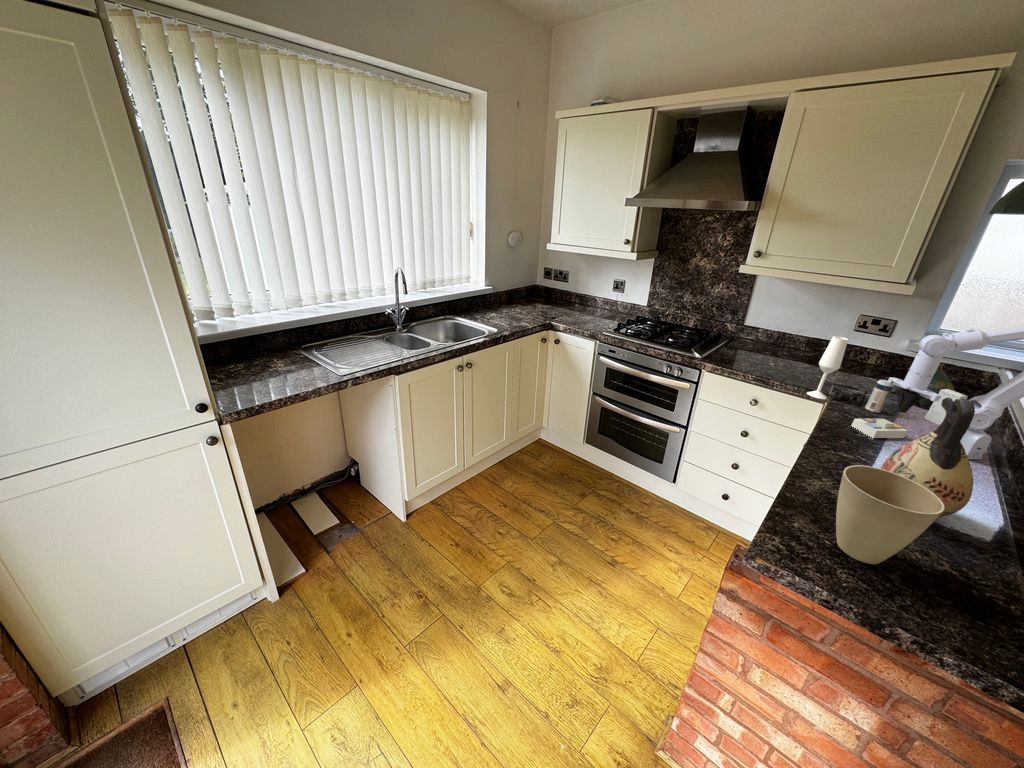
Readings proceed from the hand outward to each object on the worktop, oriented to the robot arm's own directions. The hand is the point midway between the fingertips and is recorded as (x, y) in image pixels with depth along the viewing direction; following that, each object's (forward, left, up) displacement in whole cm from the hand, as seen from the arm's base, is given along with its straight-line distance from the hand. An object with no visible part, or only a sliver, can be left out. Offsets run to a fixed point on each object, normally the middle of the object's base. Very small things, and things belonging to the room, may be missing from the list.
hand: (901, 411), depth 134 cm
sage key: (0, +4, -6) cm, 7 cm away
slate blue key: (0, +8, -7) cm, 11 cm away
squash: (+23, -42, -9) cm, 49 cm away
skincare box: (+8, -30, -9) cm, 32 cm away
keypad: (+1, +4, -8) cm, 9 cm away
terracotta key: (0, 0, -7) cm, 7 cm away
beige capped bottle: (+17, -12, -9) cm, 23 cm away
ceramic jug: (-36, +37, -9) cm, 52 cm away
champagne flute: (+30, 0, -9) cm, 31 cm away
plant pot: (-47, +63, -9) cm, 78 cm away
